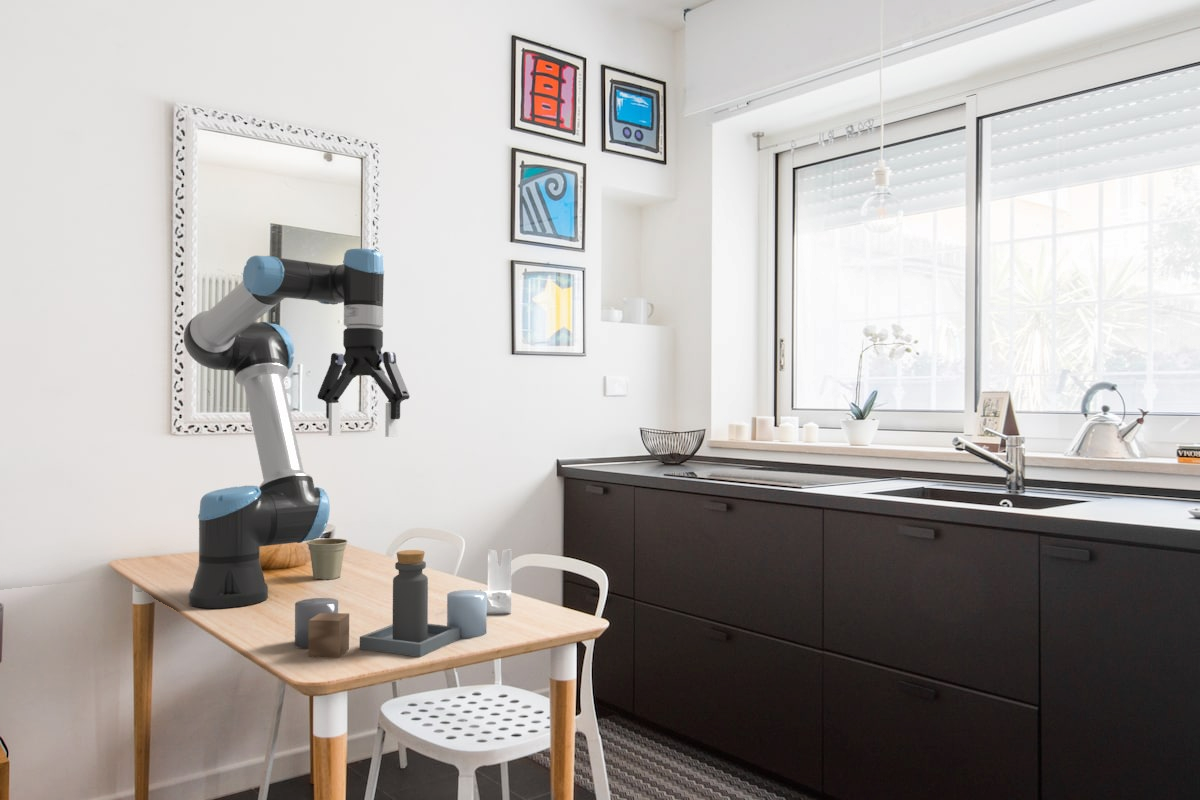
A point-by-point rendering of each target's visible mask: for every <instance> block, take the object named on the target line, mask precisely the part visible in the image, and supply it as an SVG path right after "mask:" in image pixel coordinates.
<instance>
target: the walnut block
mask: <svg viewBox="0 0 1200 800" xmlns="http://www.w3.org/2000/svg"><path fill="white" fill-rule="evenodd" d="M349 650H350V613H343V612H342V613H341V612H338V613H319V614H318V615H316V616H315V617H313V618H312V619H310V620H309V639H308V649H307V651H308V653H307V654H308V657H307V658H310V659H311V658H312V659H314V658H318V659H319V658H321V659H322V658H325V659H326V658H329V659H340V658H342V656H343V655H345V654H346V653H347V652H348V651H349Z"/></svg>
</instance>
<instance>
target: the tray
mask: <svg viewBox="0 0 1200 800" xmlns="http://www.w3.org/2000/svg"><path fill="white" fill-rule="evenodd" d="M460 639H461V638H460V627H453V626H447V625H443V624H433V623H428V633H427V640H424V641H422V642H420V643H418V642H410V641H402V640H394V639H393V623H392V624H390V625H386V626H384V627H382V628H380V629H377V630H374V631H371V632H369V633H367V634H363V635H361V636H359V649H360V650H365V651H372V652H373V651H374V652H380V653H382V652H383V653H388V654H389V653H390V654H396V655H404V656H411V657H419V658H421V657H423V656H425V655H427V654H429V653H430V654H431V653H432V652H434V651H437V650H438V649H440V648H442V647H446V646H447V645H450V644H452V643H454V642H456V641H458V640H460Z"/></svg>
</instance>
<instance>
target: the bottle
mask: <svg viewBox="0 0 1200 800" xmlns="http://www.w3.org/2000/svg"><path fill="white" fill-rule="evenodd" d="M424 556H425V551H424V550H420V549H418V550H417V549H406V550H405V549H404V550H400V551H396V559H397V562H395V563H394V564H395V565H394V566H395V567H394V568H395V570H397V571H398V574H397V575H396V576H394V577H393V580H392V624H393V639H394V640H402V641H410V642H418V643H420V642H422V641H424V640H427V633H428V624H429V622H428V621H429V620H428V619H429V618H428V614H429V611H428V610H429V607H428V606H429V601H428V599H429V592H428V591H429V585H428V584H429V581H428V580H429V579H428V576H427V575H426V574H424V573H423V570H424V569H426V567H427V563H426V561H424Z"/></svg>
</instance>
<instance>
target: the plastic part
mask: <svg viewBox="0 0 1200 800" xmlns="http://www.w3.org/2000/svg"><path fill="white" fill-rule="evenodd" d="M497 552H498V551H497V550H496V549H492V548H488V549H487V583H486V585H487V589H486V590H483V591H484V592H486V593H487V615H501V614H502V615H507V614H509V615H510V614H512V548H507V549H503V550H502V553H501V559H500V564H499V561H498V558H499V557H498V553H497ZM479 591H482V590H481V589H479Z"/></svg>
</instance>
